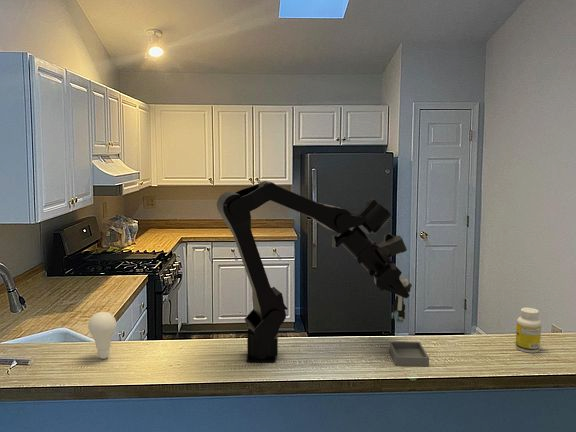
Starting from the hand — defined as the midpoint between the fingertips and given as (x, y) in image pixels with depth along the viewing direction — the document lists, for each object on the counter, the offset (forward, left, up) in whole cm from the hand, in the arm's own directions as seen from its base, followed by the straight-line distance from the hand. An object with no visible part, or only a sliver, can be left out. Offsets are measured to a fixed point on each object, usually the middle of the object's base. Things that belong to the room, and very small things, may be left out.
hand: (405, 293), depth 131 cm
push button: (-2, 0, -7) cm, 7 cm away
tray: (0, -7, -13) cm, 15 cm away
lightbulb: (-70, -10, -13) cm, 72 cm away
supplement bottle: (+30, -1, -13) cm, 33 cm away
